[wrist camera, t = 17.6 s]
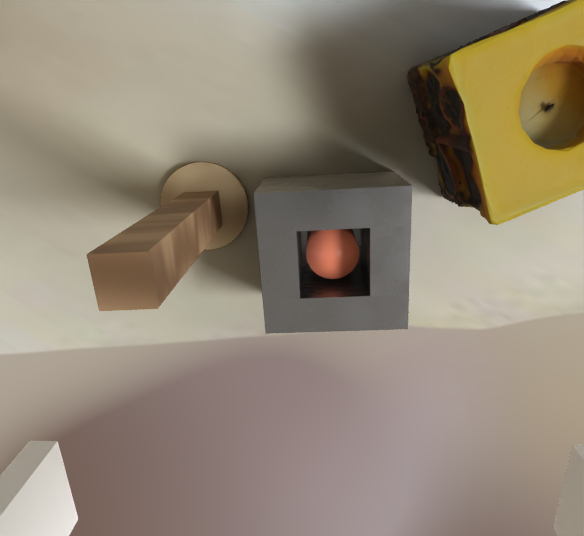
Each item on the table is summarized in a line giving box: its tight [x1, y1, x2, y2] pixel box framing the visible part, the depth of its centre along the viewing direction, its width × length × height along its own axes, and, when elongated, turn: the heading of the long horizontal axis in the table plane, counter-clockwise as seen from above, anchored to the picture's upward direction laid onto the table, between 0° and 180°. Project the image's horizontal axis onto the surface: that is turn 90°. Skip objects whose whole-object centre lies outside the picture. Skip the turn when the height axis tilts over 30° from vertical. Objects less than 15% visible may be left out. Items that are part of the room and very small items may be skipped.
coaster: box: [160, 162, 248, 250], centre depth 36 cm, size 7×7×1 cm
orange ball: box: [306, 229, 359, 279], centre depth 34 cm, size 4×4×4 cm
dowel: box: [87, 191, 222, 311], centre depth 28 cm, size 3×3×16 cm
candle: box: [407, 0, 584, 225], centre depth 28 cm, size 10×10×10 cm
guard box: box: [254, 171, 412, 333], centre depth 33 cm, size 10×10×7 cm
